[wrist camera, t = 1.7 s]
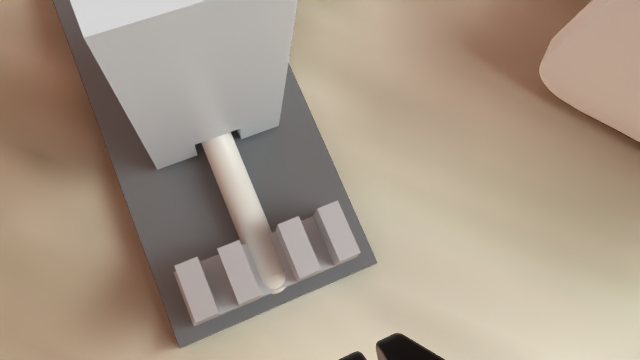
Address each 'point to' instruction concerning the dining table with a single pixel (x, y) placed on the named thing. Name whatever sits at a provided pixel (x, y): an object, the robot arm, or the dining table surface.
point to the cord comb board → (230, 210)
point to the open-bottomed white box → (191, 66)
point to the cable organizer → (599, 64)
